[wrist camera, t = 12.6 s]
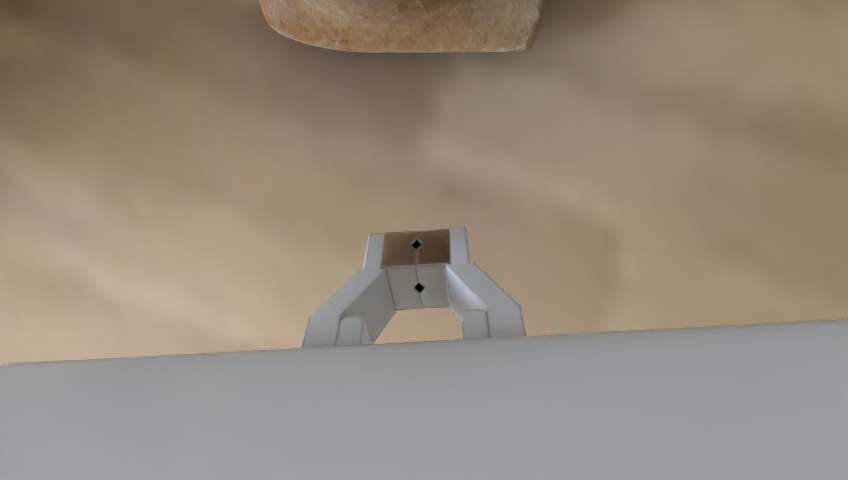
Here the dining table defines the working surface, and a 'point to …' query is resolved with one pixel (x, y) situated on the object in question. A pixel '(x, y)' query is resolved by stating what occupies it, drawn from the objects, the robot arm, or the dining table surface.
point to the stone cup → (407, 24)
